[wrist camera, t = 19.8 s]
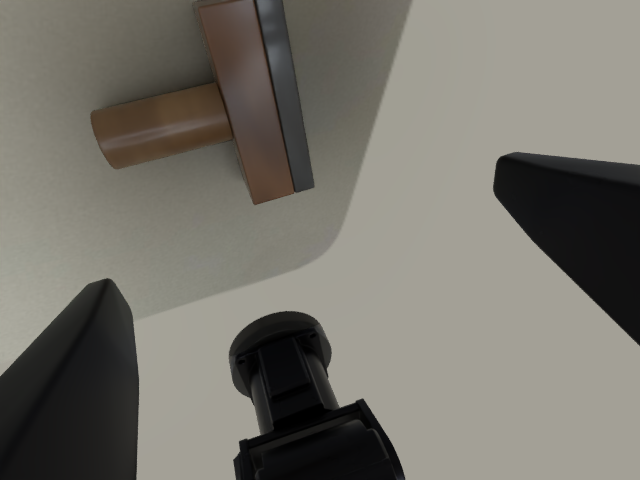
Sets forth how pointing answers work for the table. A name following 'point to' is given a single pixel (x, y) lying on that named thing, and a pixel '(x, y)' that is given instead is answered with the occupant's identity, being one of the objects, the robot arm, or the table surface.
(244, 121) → the brush
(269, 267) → the table surface
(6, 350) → the table surface
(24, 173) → the table surface
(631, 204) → the robot arm
